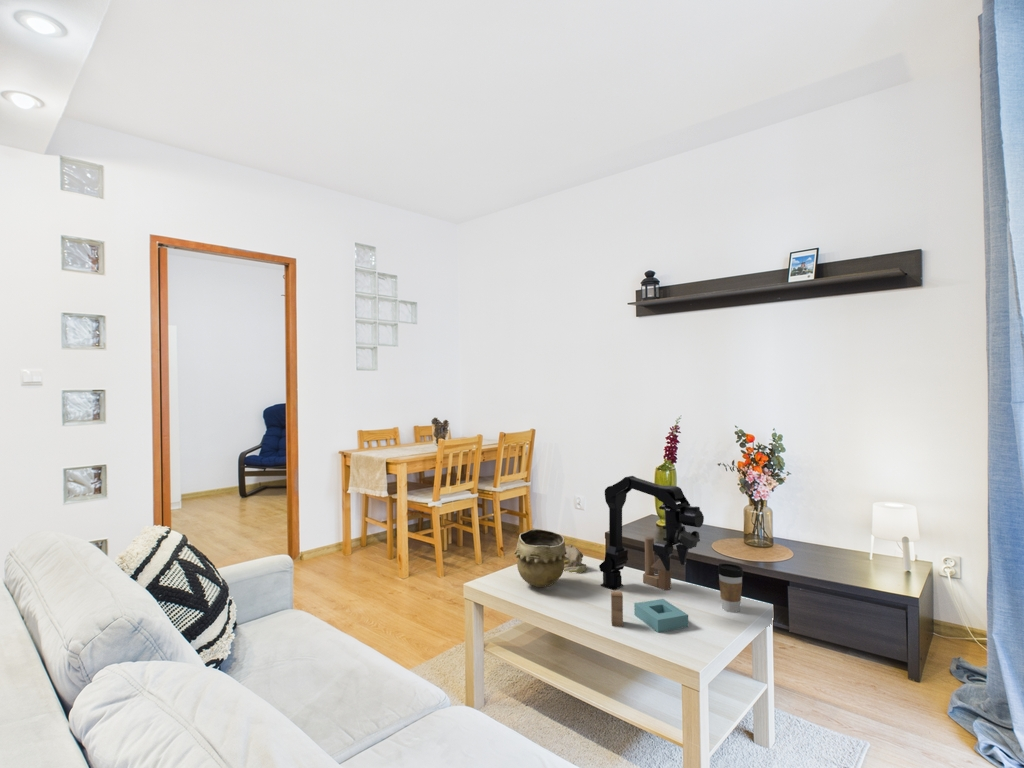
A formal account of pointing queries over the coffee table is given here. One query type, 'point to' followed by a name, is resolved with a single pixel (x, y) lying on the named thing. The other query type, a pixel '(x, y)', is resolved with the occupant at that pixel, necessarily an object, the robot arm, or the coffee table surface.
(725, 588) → the coffee cup
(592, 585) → the coffee table surface
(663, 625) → the teal square hole block
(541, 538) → the clay pot
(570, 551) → the ceramic model
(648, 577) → the wooden block
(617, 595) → the square peg
